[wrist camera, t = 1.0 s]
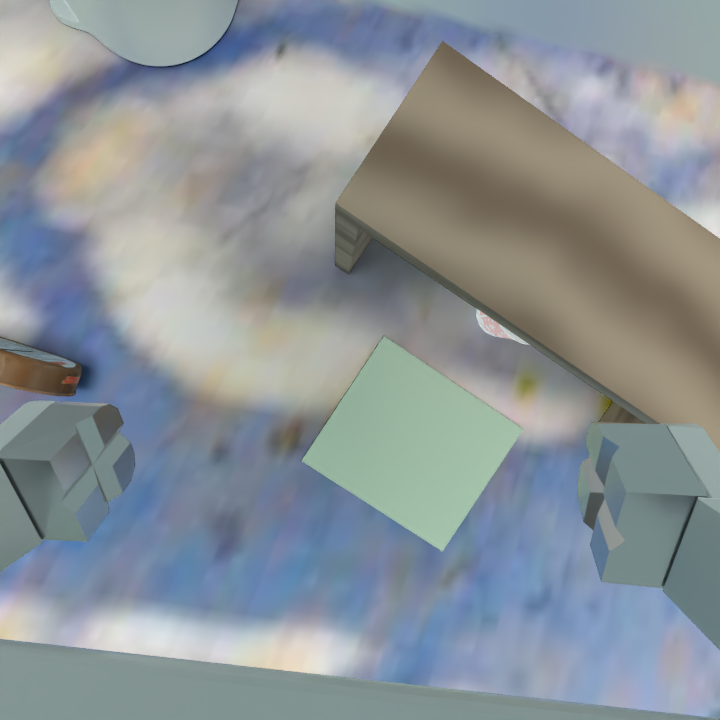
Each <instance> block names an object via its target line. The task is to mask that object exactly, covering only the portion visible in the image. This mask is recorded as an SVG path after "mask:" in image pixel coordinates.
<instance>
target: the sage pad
mask: <svg viewBox="0 0 720 720" xmlns="http://www.w3.org/2000/svg"><path fill="white" fill-rule="evenodd" d="M522 431H523V428H521V427H520V426H518V425H517V424H515V423H514V422H512V421H511V420H509V419H508V418H506V417H505V416H503V415H502V414H500V413H499V412H497V411H496V410H494V409H493V408H491V407H490V406H488V405H487V404H485V403H484V402H482V401H481V400H479V399H478V398H476V397H475V396H473V395H472V394H470V393H469V392H467V391H466V390H464V389H463V388H461V387H460V386H458V385H457V384H455V383H454V382H452V381H451V380H449V379H448V378H446V377H445V376H443V375H442V374H440V373H439V372H437V371H436V370H434V369H433V368H431V367H430V366H428V365H427V364H425V363H424V362H422V361H421V360H419V359H418V358H416V357H415V356H413V355H412V354H410V353H409V352H407V351H406V350H404V349H403V348H401V347H400V346H398V345H397V344H395V343H394V342H392V341H391V340H389V339H388V338H386V337H385V336H383V338H382V339H381V341H380V342H379V344H378V345H377V347H376V348H375V350H374V351H373V353H372V354H371V356H370V357H369V359H368V360H367V362H366V363H365V365H364V367H363V368H362V370H361V371H360V373H359V374H358V376H357V377H356V379H355V380H354V382H353V383H352V385H351V386H350V388H349V389H348V391H347V392H346V394H345V395H344V397H343V398H342V400H341V401H340V403H339V404H338V406H337V407H336V409H335V410H334V412H333V413H332V415H331V416H330V418H329V419H328V421H327V422H326V424H325V425H324V427H323V428H322V430H321V432H320V433H319V435H318V436H317V438H316V439H315V441H314V442H313V444H312V445H311V447H310V448H309V450H308V451H307V453H306V454H305V456H304V457H303V459H302V462H304V463H305V464H307V465H309V466H310V467H312V468H313V469H315V470H316V471H318V472H319V473H321V474H323V475H324V476H326V477H327V478H329V479H330V480H332V481H333V482H335V483H337V484H338V485H340V486H341V487H343V488H344V489H346V490H347V491H349V492H351V493H352V494H354V495H355V496H357V497H358V498H360V499H361V500H363V501H365V502H366V503H368V504H369V505H371V506H372V507H374V508H375V509H377V510H379V511H380V512H382V513H383V514H385V515H386V516H388V517H389V518H391V519H393V520H394V521H396V522H397V523H399V524H400V525H402V526H403V527H405V528H407V529H408V530H410V531H411V532H413V533H414V534H416V535H417V536H419V537H421V538H422V539H424V540H425V541H427V542H428V543H430V544H431V545H433V546H435V547H436V548H438V549H439V550H441V551H443V550H444V548H445V547H446V545H447V544H448V542H449V541H450V539H451V538H452V536H453V535H454V533H455V532H456V530H457V529H458V527H459V526H460V524H461V523H462V521H463V520H464V518H465V517H466V515H467V514H468V512H469V511H470V509H471V508H472V506H473V505H474V503H475V502H476V500H477V499H478V497H479V496H480V494H481V493H482V491H483V490H484V488H485V486H486V485H487V483H488V482H489V480H490V479H491V477H492V476H493V474H494V473H495V471H496V470H497V468H498V467H499V465H500V464H501V462H502V461H503V459H504V458H505V456H506V455H507V453H508V452H509V450H510V449H511V447H512V446H513V444H514V443H515V441H516V440H517V438H518V437H519V435H520V434H521V432H522Z"/></svg>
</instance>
